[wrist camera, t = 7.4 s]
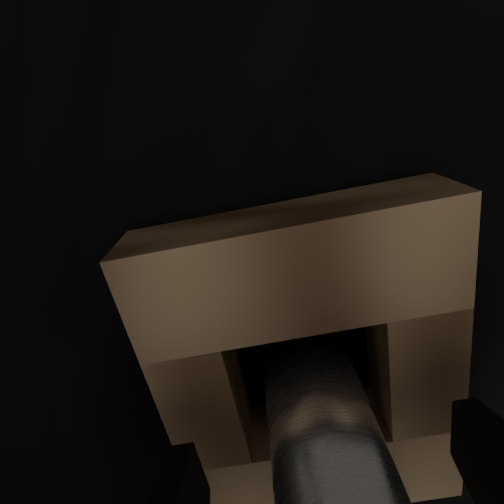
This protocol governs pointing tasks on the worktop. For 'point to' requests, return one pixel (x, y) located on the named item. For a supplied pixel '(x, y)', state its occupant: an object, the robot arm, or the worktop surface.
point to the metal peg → (324, 428)
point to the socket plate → (308, 318)
